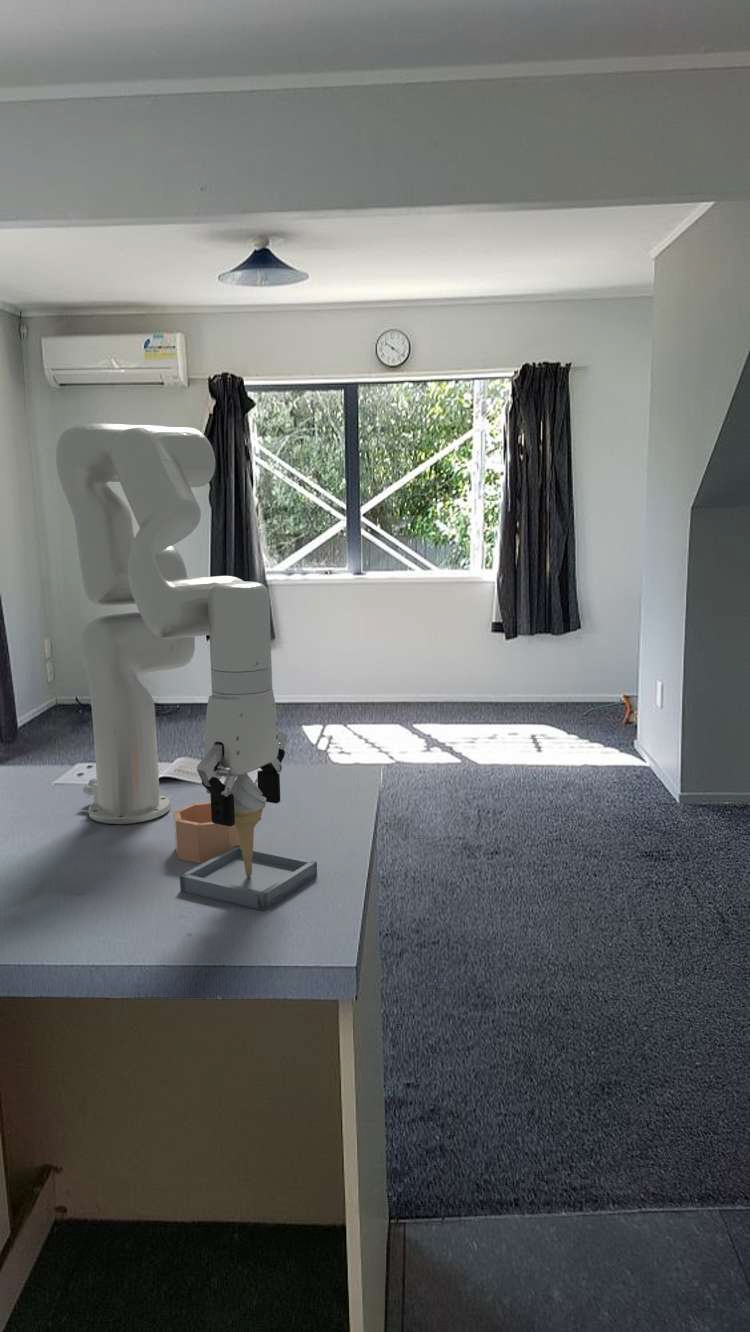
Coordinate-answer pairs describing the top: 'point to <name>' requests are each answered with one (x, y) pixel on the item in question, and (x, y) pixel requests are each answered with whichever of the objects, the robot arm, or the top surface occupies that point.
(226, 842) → the holder cup
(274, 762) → the robot arm
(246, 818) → the ice cream cone
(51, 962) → the top surface
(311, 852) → the top surface
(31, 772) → the top surface
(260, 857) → the slate tray
